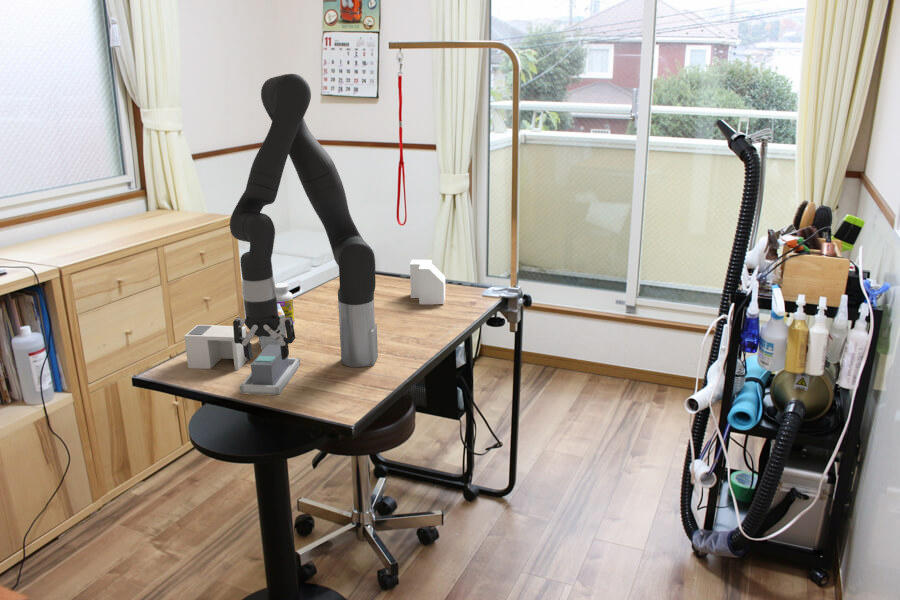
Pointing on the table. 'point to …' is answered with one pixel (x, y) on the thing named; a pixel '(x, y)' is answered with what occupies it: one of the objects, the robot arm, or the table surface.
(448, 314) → the table surface
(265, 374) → the slab with teal patch
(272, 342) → the light bulb box
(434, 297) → the corner bracket
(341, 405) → the table surface
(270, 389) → the tray
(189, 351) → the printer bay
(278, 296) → the supplement bottle
